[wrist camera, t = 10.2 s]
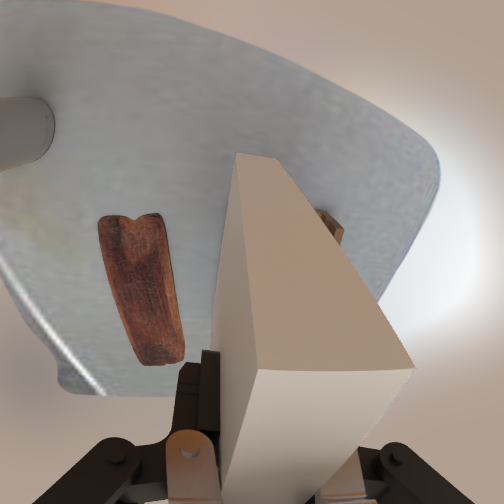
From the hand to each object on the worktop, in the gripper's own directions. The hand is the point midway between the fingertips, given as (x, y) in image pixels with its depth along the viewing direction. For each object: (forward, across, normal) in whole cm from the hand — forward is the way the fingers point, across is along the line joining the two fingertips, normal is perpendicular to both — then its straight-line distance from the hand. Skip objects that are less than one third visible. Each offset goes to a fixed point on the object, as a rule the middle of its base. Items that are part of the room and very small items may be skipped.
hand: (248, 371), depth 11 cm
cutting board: (+11, 0, -1) cm, 11 cm away
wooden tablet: (+32, +11, +18) cm, 38 cm away
